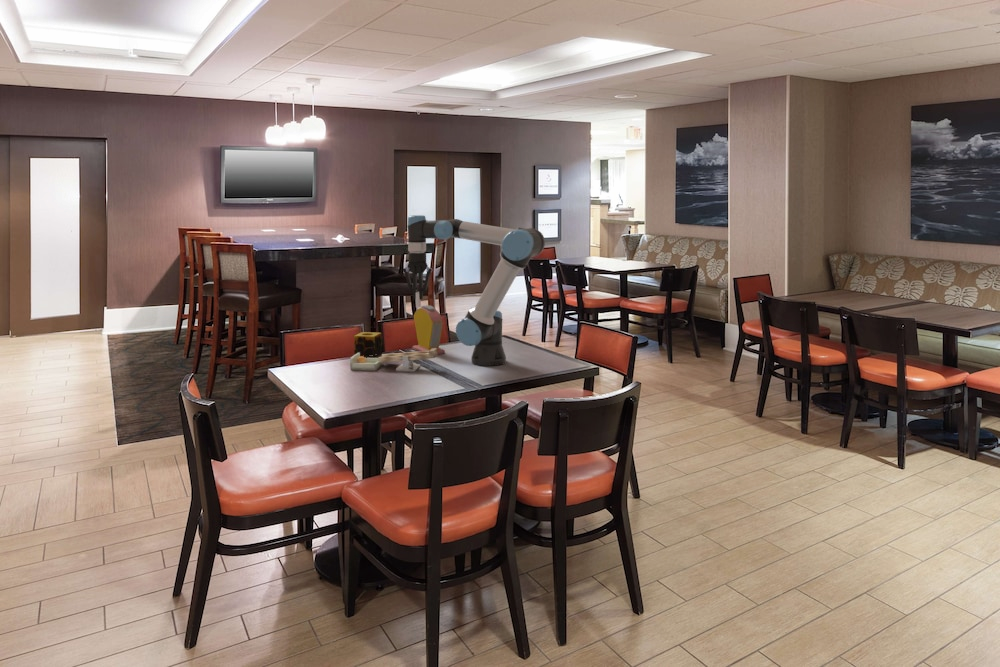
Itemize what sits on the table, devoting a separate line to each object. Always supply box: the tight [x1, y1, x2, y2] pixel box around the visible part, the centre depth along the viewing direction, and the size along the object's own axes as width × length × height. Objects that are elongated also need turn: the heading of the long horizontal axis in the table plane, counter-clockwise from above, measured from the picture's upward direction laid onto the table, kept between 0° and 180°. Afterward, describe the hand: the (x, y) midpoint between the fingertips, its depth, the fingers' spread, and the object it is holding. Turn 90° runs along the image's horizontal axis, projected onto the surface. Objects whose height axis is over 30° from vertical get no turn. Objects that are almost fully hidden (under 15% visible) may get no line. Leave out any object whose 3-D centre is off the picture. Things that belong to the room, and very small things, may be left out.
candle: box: [353, 331, 384, 358], centre depth 339 cm, size 10×10×10 cm
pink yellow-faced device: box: [411, 305, 446, 356], centre depth 346 cm, size 22×9×22 cm, turn 30°
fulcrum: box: [395, 356, 421, 373], centre depth 314 cm, size 8×10×6 cm
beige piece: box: [377, 348, 438, 363], centre depth 317 cm, size 25×13×4 cm, turn 82°
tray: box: [349, 353, 384, 371], centre depth 317 cm, size 11×11×5 cm
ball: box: [357, 356, 366, 363], centre depth 317 cm, size 4×4×4 cm
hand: (418, 306), depth 322 cm, fingers closed
